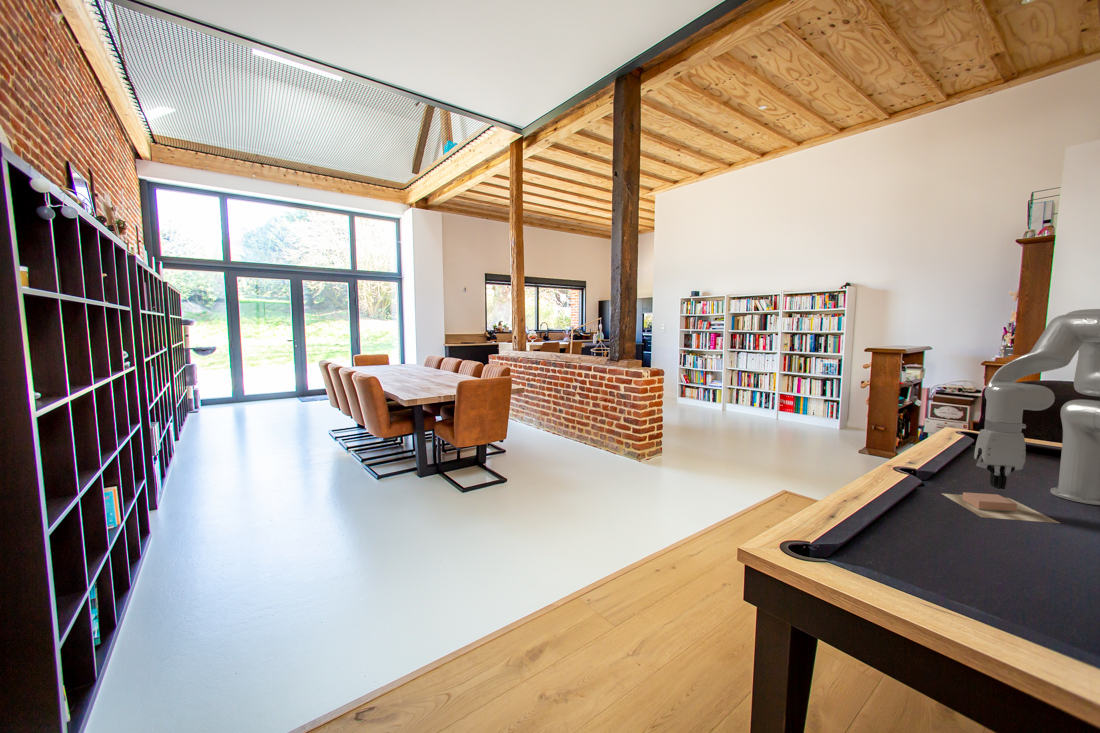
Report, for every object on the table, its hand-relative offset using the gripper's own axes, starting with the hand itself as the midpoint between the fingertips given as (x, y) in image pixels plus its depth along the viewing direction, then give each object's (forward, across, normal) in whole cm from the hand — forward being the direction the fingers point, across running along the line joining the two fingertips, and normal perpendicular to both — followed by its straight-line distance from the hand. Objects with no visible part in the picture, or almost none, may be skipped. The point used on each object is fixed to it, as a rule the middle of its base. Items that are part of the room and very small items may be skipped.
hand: (997, 487), depth 129 cm
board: (+7, 0, 0) cm, 7 cm away
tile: (+5, -3, 0) cm, 5 cm away
